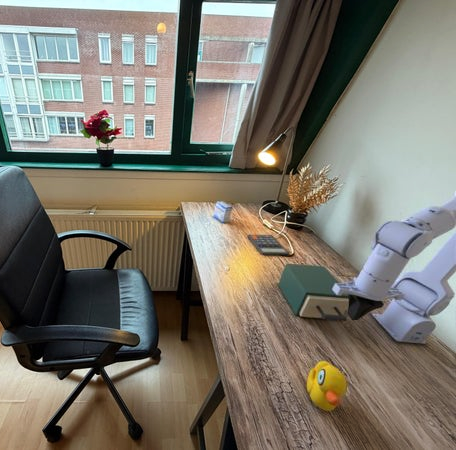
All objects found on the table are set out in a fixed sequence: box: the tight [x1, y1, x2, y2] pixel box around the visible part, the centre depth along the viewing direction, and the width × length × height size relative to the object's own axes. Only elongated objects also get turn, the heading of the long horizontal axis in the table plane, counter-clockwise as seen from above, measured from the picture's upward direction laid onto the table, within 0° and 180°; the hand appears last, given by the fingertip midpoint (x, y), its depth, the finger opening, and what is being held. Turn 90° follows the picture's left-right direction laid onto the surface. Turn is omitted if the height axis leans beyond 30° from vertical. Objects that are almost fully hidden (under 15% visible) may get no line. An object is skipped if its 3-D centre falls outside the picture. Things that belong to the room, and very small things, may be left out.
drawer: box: [299, 295, 349, 322], centre depth 74 cm, size 17×11×7 cm
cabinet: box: [278, 263, 348, 316], centre depth 77 cm, size 14×13×9 cm
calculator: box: [247, 234, 290, 256], centre depth 108 cm, size 12×1×15 cm
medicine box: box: [213, 200, 233, 224], centre depth 127 cm, size 8×4×9 cm, turn 25°
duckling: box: [306, 360, 348, 412], centre depth 50 cm, size 11×5×10 cm, turn 151°
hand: (352, 317), depth 60 cm, fingers closed
